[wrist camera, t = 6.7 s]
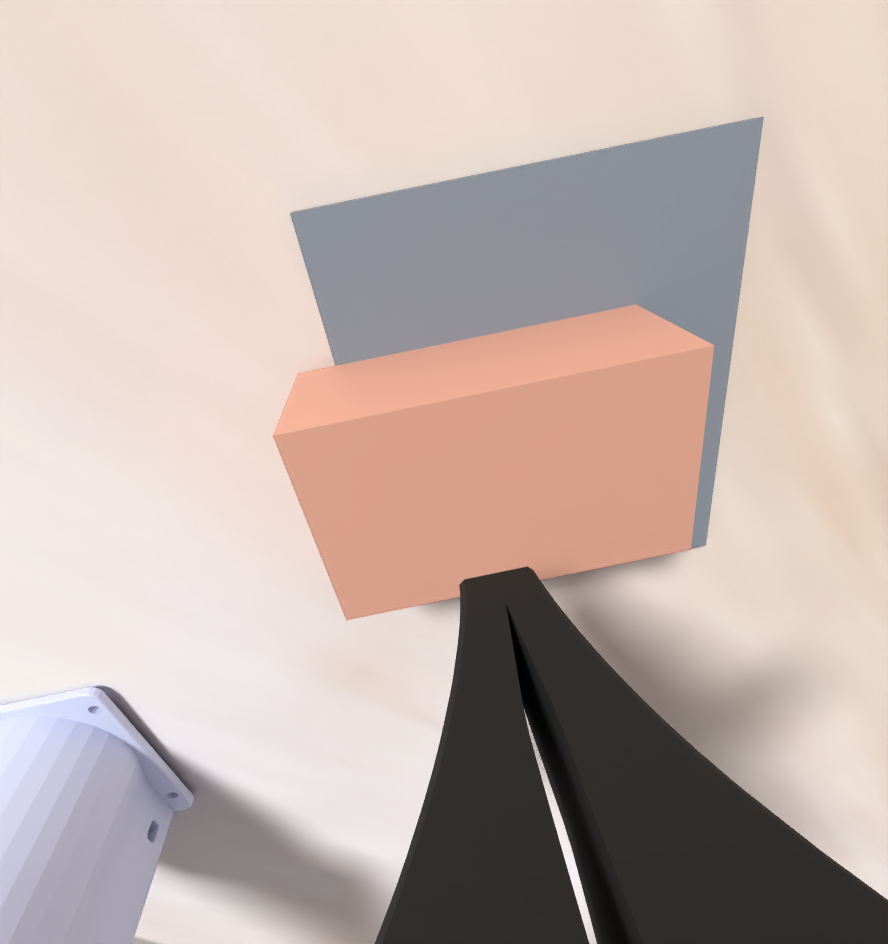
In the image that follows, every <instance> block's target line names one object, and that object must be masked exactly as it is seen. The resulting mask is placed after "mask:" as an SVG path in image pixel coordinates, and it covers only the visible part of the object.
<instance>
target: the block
mask: <svg viewBox="0 0 888 944" xmlns="http://www.w3.org/2000/svg"><path fill="white" fill-rule="evenodd" d="M713 352H714V345H713V344H711V343H709V342H707V341H705V340H703V339H701V338H699V337H697V336H695V335H693V334H692V333H690V332H688V331H686V330H684V329H682V328H680V327H678V326H676V325H674V324H673V323H671V322H669V321H667V320H665V319H663V318H661V317H659V316H657V315H655V314H654V313H652V312H650V311H648V310H646V309H644V308H642V307H640V306H638V305H631V306H626V307H621V308H616V309H611V310H607V311H602V312H597V313H592V314H587V315H582V316H577V317H572V318H567V319H563V320H558V321H553V322H548V323H543V324H538V325H533V326H528V327H523V328H518V329H514V330H509V331H504V332H499V333H494V334H489V335H484V336H479V337H474V338H470V339H465V340H460V341H455V342H450V343H445V344H440V345H435V346H430V347H425V348H421V349H416V350H411V351H406V352H401V353H396V354H391V355H386V356H381V357H377V358H372V359H367V360H362V361H357V362H352V363H347V364H342V365H337V366H332V367H328V368H323V369H318V370H313V371H308V372H303V373H298V375H297V377H296V380H295V382H294V385H293V387H292V390H291V392H290V395H289V397H288V400H287V402H286V405H285V407H284V409H283V412H282V414H281V417H280V419H279V422H278V424H277V427H276V429H275V432H274V434H273V438H274V440H275V443H276V445H277V448H278V450H279V453H280V455H281V458H282V460H283V463H284V465H285V468H286V470H287V473H288V475H289V478H290V480H291V483H292V485H293V488H294V490H295V493H296V495H297V498H298V500H299V503H300V505H301V508H302V510H303V513H304V515H305V518H306V520H307V523H308V525H309V528H310V530H311V533H312V535H313V538H314V540H315V543H316V545H317V548H318V550H319V553H320V555H321V558H322V561H323V563H324V566H325V568H326V571H327V573H328V576H329V578H330V581H331V583H332V586H333V588H334V591H335V593H336V596H337V598H338V601H339V603H340V606H341V608H342V611H343V613H344V616H345V618H346V620H350V619H355V618H360V617H365V616H369V615H374V614H379V613H384V612H389V611H394V610H399V609H403V608H408V607H413V606H418V605H423V604H428V603H433V602H437V601H442V600H447V599H452V598H457V597H460V589H459V585H460V584H461V582H462V581H463V580H464V579H469V578H474V577H478V576H483V575H488V574H493V573H498V572H503V571H508V570H512V569H517V568H522V567H527V566H528V567H529V568H531V569H533V570H534V571H535V573H536V575H537V576H538V578H539V579H540V580H544V579H549V578H554V577H559V576H564V575H569V574H574V573H578V572H583V571H588V570H593V569H598V568H603V567H608V566H612V565H617V564H622V563H627V562H632V561H637V560H642V559H646V558H651V557H656V556H661V555H666V554H671V553H676V552H680V551H685V550H690V549H691V544H692V535H693V526H694V517H695V509H696V500H697V491H698V483H699V474H700V465H701V457H702V448H703V439H704V431H705V422H706V413H707V405H708V396H709V387H710V379H711V370H712V361H713Z"/></svg>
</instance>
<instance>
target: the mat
mask: <svg viewBox="0 0 888 944" xmlns="http://www.w3.org/2000/svg"><path fill="white" fill-rule="evenodd" d="M762 124H763V117H759V118H753V119H748V120H743V121H738V122H733V123H728V124H723V125H718V126H713V127H708V128H703V129H699V130H694V131H689V132H684V133H679V134H674V135H669V136H664V137H659V138H654V139H649V140H644V141H639V142H635V143H630V144H625V145H620V146H615V147H610V148H605V149H600V150H595V151H590V152H585V153H580V154H576V155H571V156H566V157H561V158H556V159H551V160H546V161H541V162H536V163H531V164H526V165H521V166H517V167H512V168H507V169H502V170H497V171H492V172H487V173H482V174H477V175H472V176H467V177H462V178H458V179H453V180H448V181H443V182H438V183H433V184H428V185H423V186H418V187H413V188H408V189H403V190H398V191H394V192H389V193H384V194H379V195H374V196H369V197H364V198H359V199H354V200H349V201H344V202H339V203H335V204H330V205H325V206H320V207H315V208H310V209H305V210H300V211H295V212H291V213H290V215H291V218H292V222H293V225H294V228H295V232H296V235H297V238H298V242H299V245H300V248H301V252H302V255H303V258H304V262H305V265H306V268H307V272H308V275H309V279H310V282H311V285H312V289H313V292H314V295H315V299H316V302H317V305H318V309H319V312H320V315H321V319H322V322H323V325H324V329H325V332H326V335H327V339H328V342H329V345H330V349H331V352H332V356H333V359H334V362H335V366H337V365H342V364H347V363H352V362H357V361H362V360H367V359H372V358H377V357H381V356H386V355H391V354H396V353H401V352H406V351H411V350H416V349H421V348H425V347H430V346H435V345H440V344H445V343H450V342H455V341H460V340H465V339H470V338H474V337H479V336H484V335H489V334H494V333H499V332H504V331H509V330H514V329H518V328H523V327H528V326H533V325H538V324H543V323H548V322H553V321H558V320H563V319H567V318H572V317H577V316H582V315H587V314H592V313H597V312H602V311H607V310H611V309H616V308H621V307H626V306H631V305H638V306H640V307H642V308H644V309H646V310H648V311H650V312H652V313H654V314H655V315H657V316H659V317H661V318H663V319H665V320H667V321H669V322H671V323H673V324H674V325H676V326H678V327H680V328H682V329H684V330H686V331H688V332H690V333H692V334H693V335H695V336H697V337H699V338H701V339H703V340H705V341H707V342H709V343H711V344H713V345H714V352H713V361H712V370H711V379H710V387H709V396H708V405H707V413H706V422H705V431H704V439H703V448H702V457H701V465H700V474H699V483H698V491H697V500H696V509H695V517H694V526H693V535H692V544H691V548H693V547H698V546H703V545H706V539H707V532H708V524H709V517H710V510H711V502H712V495H713V487H714V480H715V473H716V465H717V458H718V450H719V443H720V436H721V428H722V421H723V413H724V406H725V398H726V391H727V384H728V376H729V369H730V361H731V354H732V347H733V339H734V332H735V324H736V317H737V310H738V302H739V295H740V287H741V280H742V272H743V265H744V258H745V250H746V243H747V235H748V228H749V221H750V213H751V206H752V198H753V191H754V184H755V176H756V169H757V161H758V154H759V147H760V139H761V132H762Z"/></svg>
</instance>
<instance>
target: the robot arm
mask: <svg viewBox="0 0 888 944" xmlns="http://www.w3.org/2000/svg"><path fill="white" fill-rule="evenodd" d="M459 589H460V627H459V638H458V647H457V654H456V661H455V668H454V675H453V682H452V687H451V693H450V697H449V702H448V707H447V712H446V716H445V721H444V726H443V731H442V735H441V740H440V744H439V748H438V752H437V756H436V760H435V764H434V767H433V771H432V775H431V779H430V782H429V786H428V789H427V793H426V796H425V800H424V803H423V807H422V810H421V813H420V816H419V819H418V822H417V826H416V829H415V832H414V835H413V838H412V841H411V844H410V848H409V851H408V854H407V857H406V860H405V863H404V866H403V869H402V872H401V875H400V878H399V880H398V883H397V886H396V889H395V892H394V895H393V897H392V900H391V903H390V905H389V908H388V911H387V913H386V916H385V918H384V921H383V924H382V926H381V929H380V932H379V934H378V937H377V940H376V942H375V944H589V941H588V938H587V934H586V931H585V928H584V924H583V921H582V917H581V914H580V911H579V907H578V904H577V900H576V897H575V893H574V890H573V887H572V883H571V880H570V876H569V873H568V869H567V866H566V863H565V859H564V856H563V852H562V849H561V845H560V842H559V838H558V835H557V831H556V828H555V824H554V821H553V817H552V814H551V810H550V807H549V803H548V800H547V796H546V792H545V789H544V785H543V782H542V778H541V775H540V771H539V768H538V764H537V760H536V757H535V753H534V750H533V746H532V743H531V739H530V735H529V731H528V726H527V722H526V717H525V713H526V716H527V719H528V722H529V724H530V727H531V730H532V733H533V736H534V739H535V742H536V745H537V747H538V750H539V753H540V756H541V759H542V762H543V765H544V767H545V770H546V773H547V776H548V779H549V782H550V785H551V787H552V790H553V793H554V796H555V799H556V802H557V805H558V807H559V810H560V813H561V816H562V819H563V822H564V825H565V828H566V832H567V835H568V838H569V841H570V844H571V848H572V851H573V854H574V858H575V862H576V866H577V869H578V873H579V877H580V881H581V884H582V888H583V892H584V896H585V899H586V903H587V907H588V911H589V914H590V918H591V922H592V926H593V930H594V933H595V937H596V941H597V944H888V900H887V899H886V898H884V897H883V896H882V895H880V894H879V893H878V892H876V891H875V890H873V889H872V888H871V887H869V886H868V885H867V884H865V883H864V882H863V881H861V880H860V879H858V878H857V877H856V876H854V875H853V874H852V873H850V872H849V871H848V870H846V869H845V868H844V867H842V866H841V865H839V864H838V863H837V862H835V861H834V860H833V859H831V858H830V857H829V856H827V855H826V854H824V853H823V852H822V851H820V850H819V849H818V848H817V847H815V846H814V845H813V844H812V843H810V842H809V841H808V840H807V839H805V838H804V837H803V836H801V835H800V834H799V833H798V832H796V831H795V830H794V829H793V828H791V827H790V826H789V825H787V824H786V823H785V822H784V821H782V820H781V819H780V818H779V817H777V816H776V815H775V814H774V813H772V812H771V811H770V810H768V809H767V808H766V807H765V806H763V805H762V804H761V803H760V802H758V801H757V800H756V799H754V798H753V797H752V796H751V795H749V794H748V793H747V792H746V791H744V790H743V789H742V788H741V787H739V786H738V785H737V784H736V783H735V782H733V781H732V780H731V779H730V778H729V777H728V776H726V775H725V774H724V773H723V772H722V771H721V770H719V769H718V768H717V767H716V766H715V765H714V764H712V763H711V762H710V761H709V760H708V759H707V758H705V757H704V756H703V755H702V754H701V753H700V752H698V751H697V750H696V749H695V748H694V747H693V746H692V745H691V744H690V743H688V742H687V741H686V740H685V739H684V738H683V737H682V736H681V735H680V734H678V733H677V732H676V731H675V730H674V729H673V728H672V727H671V726H670V725H669V724H668V723H666V722H665V721H664V720H663V719H662V718H661V717H660V716H659V715H658V714H657V713H656V712H655V711H654V710H653V709H652V708H651V707H650V706H649V705H648V704H647V703H646V702H645V701H644V700H643V699H642V698H641V697H640V696H639V695H638V694H637V693H636V692H635V691H634V690H633V689H632V688H631V687H630V686H629V685H628V684H627V683H626V682H625V681H624V680H623V679H622V678H621V677H620V676H619V675H618V674H617V673H616V672H615V671H614V670H613V669H612V667H611V666H610V665H609V664H608V663H607V662H606V661H605V660H604V659H603V658H602V657H601V655H600V654H599V653H598V652H597V651H596V650H595V649H594V648H593V646H592V645H591V644H590V643H589V642H588V641H587V640H586V639H585V637H584V636H583V635H582V634H581V633H580V632H579V631H578V629H577V628H576V627H575V626H574V625H573V623H572V622H571V621H570V620H569V618H568V617H567V616H566V615H565V613H564V612H563V611H562V610H561V608H560V607H559V606H558V605H557V603H556V602H555V601H554V599H553V598H552V597H551V595H550V594H549V592H548V591H547V590H546V588H545V587H544V585H543V584H542V582H541V581H540V579H539V578H538V576H537V575H536V573H535V571H534V570H533V569H531V568H529V567H528V566H527V567H522V568H517V569H512V570H508V571H503V572H498V573H493V574H488V575H483V576H478V577H474V578H469V579H464V580H463V581H462V582H461V584H460V585H459ZM523 707H524V708H523ZM524 710H525V713H524ZM193 802H194V796H193V794H192V793H191V792H190V791H189V790H188V789H187V787H186V786H185V785H184V784H183V783H182V782H181V781H180V779H179V778H178V777H177V776H176V775H175V774H174V772H173V771H172V770H171V769H170V768H169V767H168V765H167V764H166V763H165V762H164V761H163V760H162V758H161V757H160V756H159V755H158V754H157V753H156V752H155V750H154V749H153V748H152V747H151V746H150V745H149V743H148V742H147V741H146V740H145V739H144V738H143V736H142V735H141V734H140V733H139V732H138V731H137V730H136V728H135V727H134V726H133V725H132V724H131V723H130V721H129V720H128V719H127V718H126V717H125V716H124V714H123V713H122V712H121V711H120V710H119V709H118V707H117V706H116V705H115V704H114V703H113V702H112V701H111V699H110V698H109V697H108V696H107V695H106V694H105V692H104V691H102V690H101V689H98V688H95V687H87V688H82V689H78V690H73V691H68V692H63V693H58V694H53V695H48V696H44V697H39V698H34V699H29V700H24V701H19V702H14V703H10V704H5V705H0V944H132V942H133V938H134V935H135V932H136V929H137V926H138V923H139V920H140V917H141V914H142V910H143V907H144V904H145V901H146V898H147V895H148V892H149V889H150V886H151V883H152V879H153V876H154V873H155V870H156V867H157V864H158V861H159V858H160V855H161V851H162V848H163V845H164V842H165V839H166V836H167V833H168V830H169V827H170V823H171V820H172V817H173V814H174V812H178V811H183V810H187V809H189V808H191V807H192V805H193Z"/></svg>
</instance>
